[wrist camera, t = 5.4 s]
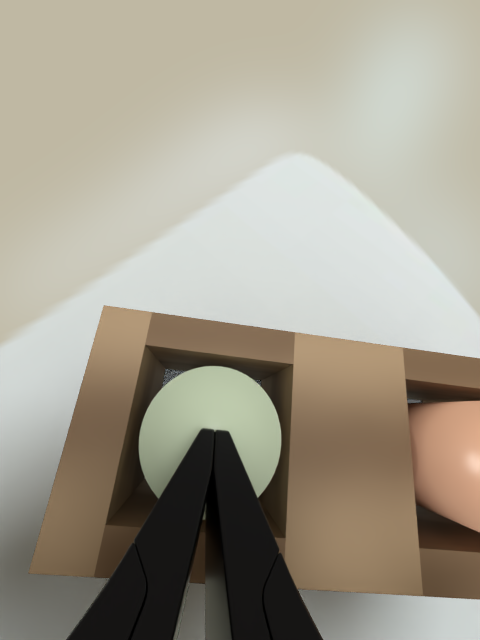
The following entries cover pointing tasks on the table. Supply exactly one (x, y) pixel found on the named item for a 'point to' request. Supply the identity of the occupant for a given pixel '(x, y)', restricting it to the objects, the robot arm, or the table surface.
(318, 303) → the table surface
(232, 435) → the pale green egg
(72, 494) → the wooden compartment box
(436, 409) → the peach orange egg
